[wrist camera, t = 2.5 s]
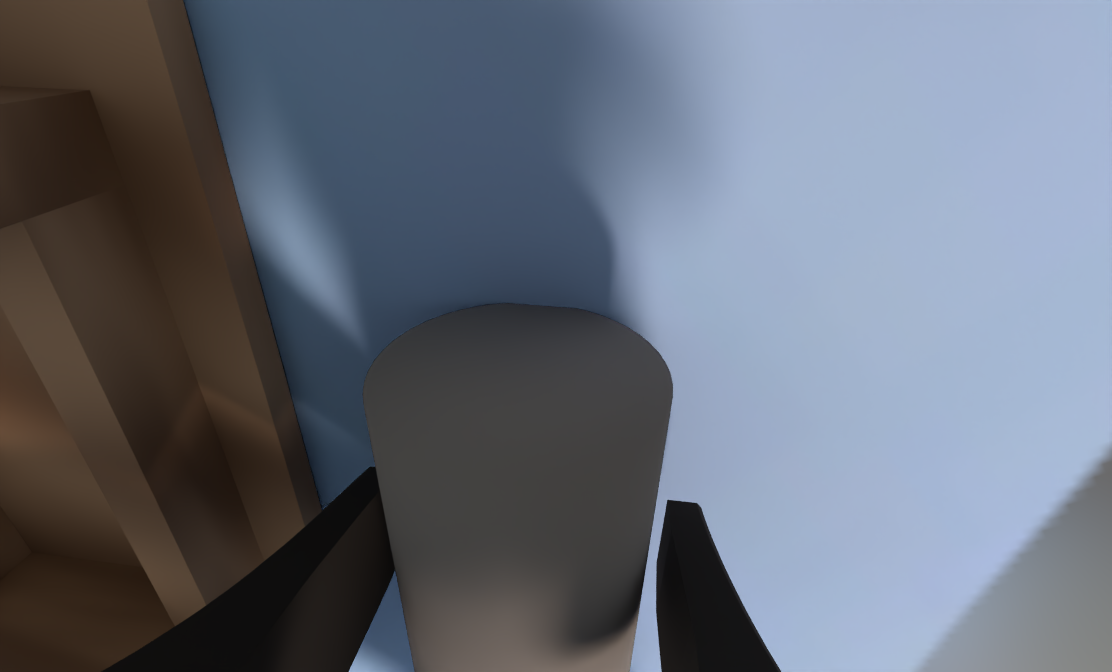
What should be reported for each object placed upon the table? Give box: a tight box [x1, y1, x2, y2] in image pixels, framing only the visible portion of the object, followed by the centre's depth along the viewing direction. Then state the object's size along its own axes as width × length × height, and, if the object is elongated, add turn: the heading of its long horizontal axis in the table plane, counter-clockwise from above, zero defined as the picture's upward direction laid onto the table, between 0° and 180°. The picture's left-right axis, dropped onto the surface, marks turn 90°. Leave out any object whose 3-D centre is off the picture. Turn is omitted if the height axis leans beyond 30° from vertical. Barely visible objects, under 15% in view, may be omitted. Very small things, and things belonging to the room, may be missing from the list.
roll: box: [363, 303, 673, 672], centre depth 12 cm, size 9×5×5 cm, turn 179°
